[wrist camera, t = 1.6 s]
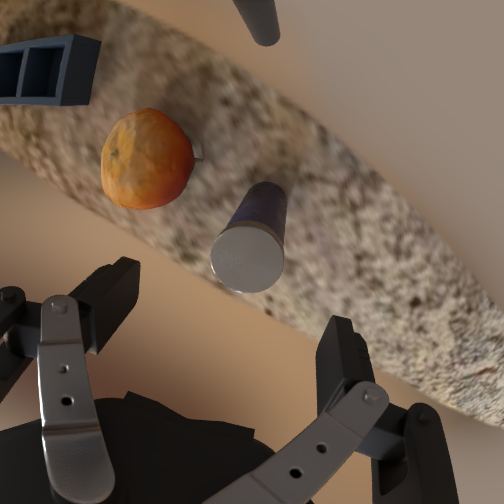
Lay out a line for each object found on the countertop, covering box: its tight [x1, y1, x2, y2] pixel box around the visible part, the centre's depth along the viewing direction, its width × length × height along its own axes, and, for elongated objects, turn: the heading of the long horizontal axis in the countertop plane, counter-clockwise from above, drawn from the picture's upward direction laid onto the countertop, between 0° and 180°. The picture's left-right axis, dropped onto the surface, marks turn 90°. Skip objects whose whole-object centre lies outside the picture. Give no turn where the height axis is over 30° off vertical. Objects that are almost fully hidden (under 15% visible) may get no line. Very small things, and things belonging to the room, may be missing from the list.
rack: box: [0, 34, 101, 106], centre depth 22 cm, size 7×18×4 cm, turn 77°
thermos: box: [210, 182, 287, 293], centre depth 22 cm, size 4×4×12 cm
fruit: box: [101, 108, 204, 209], centre depth 24 cm, size 8×8×8 cm
